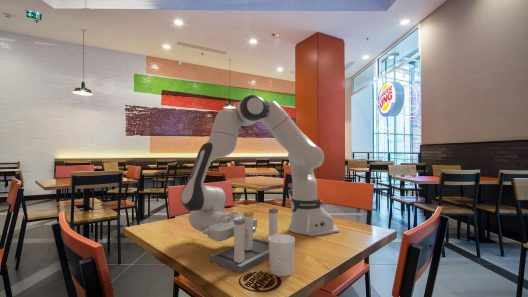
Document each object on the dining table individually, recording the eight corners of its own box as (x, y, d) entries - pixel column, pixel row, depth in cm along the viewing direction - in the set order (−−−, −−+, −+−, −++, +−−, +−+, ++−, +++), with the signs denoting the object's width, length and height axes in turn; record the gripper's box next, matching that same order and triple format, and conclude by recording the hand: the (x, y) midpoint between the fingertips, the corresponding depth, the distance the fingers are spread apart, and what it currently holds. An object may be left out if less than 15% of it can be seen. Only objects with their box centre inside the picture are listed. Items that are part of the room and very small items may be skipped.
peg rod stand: (210, 261, 85) (210, 215, 85) (253, 242, 102) (253, 204, 102) (240, 273, 77) (241, 222, 77) (281, 250, 94) (282, 209, 94)
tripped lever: (243, 249, 89) (243, 212, 89) (248, 247, 91) (248, 211, 91) (248, 250, 88) (248, 213, 88) (253, 248, 90) (253, 211, 90)
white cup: (279, 280, 73) (279, 244, 73) (263, 270, 79) (263, 237, 79) (300, 273, 77) (300, 239, 77) (283, 263, 84) (283, 232, 84)
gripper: (199, 222, 89) (229, 230, 81) (240, 211, 105) (268, 216, 97) (199, 241, 89) (228, 250, 81) (240, 226, 105) (267, 233, 97)
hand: (250, 231), depth 89 cm, fingers open, 3 cm apart
